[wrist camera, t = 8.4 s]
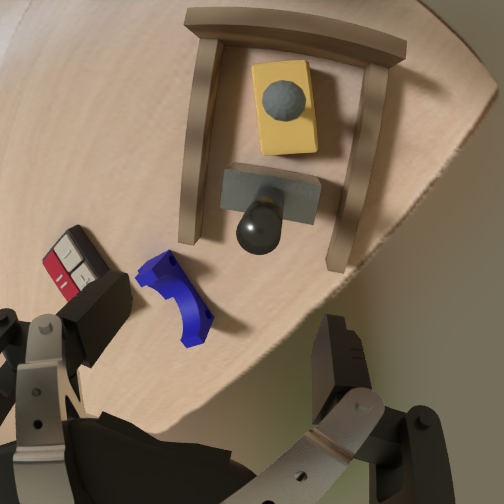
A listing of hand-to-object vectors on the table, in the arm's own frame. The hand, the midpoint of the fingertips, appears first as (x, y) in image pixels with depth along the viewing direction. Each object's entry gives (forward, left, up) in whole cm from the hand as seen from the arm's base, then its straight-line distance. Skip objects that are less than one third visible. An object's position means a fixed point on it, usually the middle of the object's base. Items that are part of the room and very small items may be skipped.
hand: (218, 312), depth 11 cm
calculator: (+18, -27, -25) cm, 41 cm away
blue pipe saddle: (+17, -10, -25) cm, 31 cm away
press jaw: (0, +1, -24) cm, 24 cm away
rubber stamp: (-9, +1, -24) cm, 26 cm away
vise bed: (-6, +1, -24) cm, 25 cm away
